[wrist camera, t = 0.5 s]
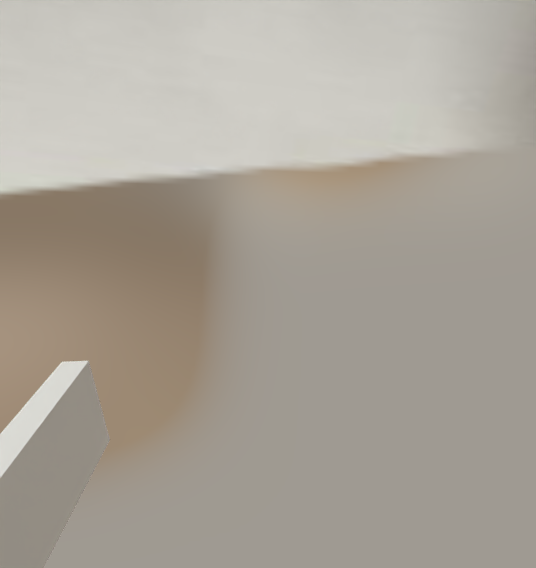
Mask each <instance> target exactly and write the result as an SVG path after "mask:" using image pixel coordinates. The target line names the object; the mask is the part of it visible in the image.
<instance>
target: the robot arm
mask: <svg viewBox="0 0 536 568" xmlns="http://www.w3.org/2000/svg"><path fill="white" fill-rule="evenodd" d="M109 440H110V439H109V435H108V431H107V428H106V424H105V420H104V416H103V413H102V409H101V405H100V401H99V398H98V394H97V390H96V387H95V383H94V379H93V375H92V371H91V368H90V364H89V361H73V362H61V364H60V365H59V366H58V367H57V368H56V370H55V371H54V372H53V373H52V374H51V375H50V376H49V378H48V379H47V380H46V381H45V382H44V383H43V385H42V386H41V387H40V388H39V389H38V391H37V392H36V393H35V394H34V395H33V396H32V397H31V399H30V400H29V401H28V402H27V403H26V405H25V406H24V407H23V408H22V409H21V411H20V412H19V413H18V414H17V415H16V416H15V418H14V419H13V420H12V421H11V422H10V423H9V425H8V426H7V427H6V428H5V429H4V430H3V431H2V433H1V434H0V568H44V566H45V564H46V562H47V560H48V558H49V556H50V554H51V553H52V550H53V549H54V547H55V545H56V543H57V541H58V539H59V537H60V535H61V533H62V531H63V529H64V527H65V525H66V523H67V522H68V520H69V518H70V516H71V514H72V512H73V510H74V508H75V506H76V504H77V502H78V500H79V498H80V496H81V494H82V493H83V491H84V489H85V487H86V485H87V483H88V481H89V479H90V477H91V475H92V473H93V471H94V469H95V467H96V465H97V464H98V462H99V460H100V458H101V456H102V454H103V452H104V450H105V448H106V446H107V444H108V442H109Z"/></svg>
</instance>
